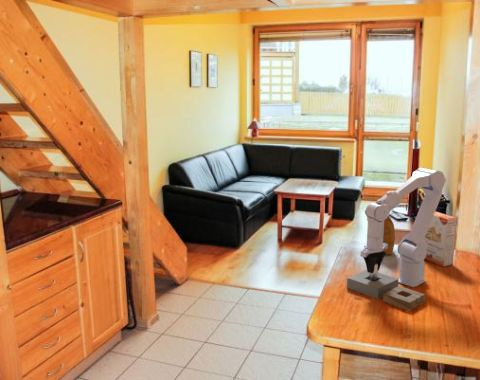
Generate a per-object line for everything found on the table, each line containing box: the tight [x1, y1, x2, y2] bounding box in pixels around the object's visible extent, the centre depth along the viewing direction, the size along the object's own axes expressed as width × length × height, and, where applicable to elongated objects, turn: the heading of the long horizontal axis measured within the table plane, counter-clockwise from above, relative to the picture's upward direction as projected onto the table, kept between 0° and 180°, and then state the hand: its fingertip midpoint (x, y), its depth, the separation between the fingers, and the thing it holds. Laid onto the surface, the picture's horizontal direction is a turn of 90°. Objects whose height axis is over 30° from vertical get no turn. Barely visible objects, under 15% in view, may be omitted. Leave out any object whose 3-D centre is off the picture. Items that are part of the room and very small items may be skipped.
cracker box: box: [424, 210, 458, 268], centre depth 210 cm, size 14×6×21 cm, turn 25°
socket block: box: [382, 285, 426, 312], centre depth 171 cm, size 10×10×3 cm
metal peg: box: [369, 263, 379, 282], centre depth 181 cm, size 3×3×7 cm
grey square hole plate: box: [346, 269, 399, 300], centre depth 182 cm, size 13×13×4 cm
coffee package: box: [383, 214, 396, 256], centre depth 222 cm, size 10×12×22 cm
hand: (373, 271), depth 181 cm, fingers closed on metal peg, 3 cm apart
